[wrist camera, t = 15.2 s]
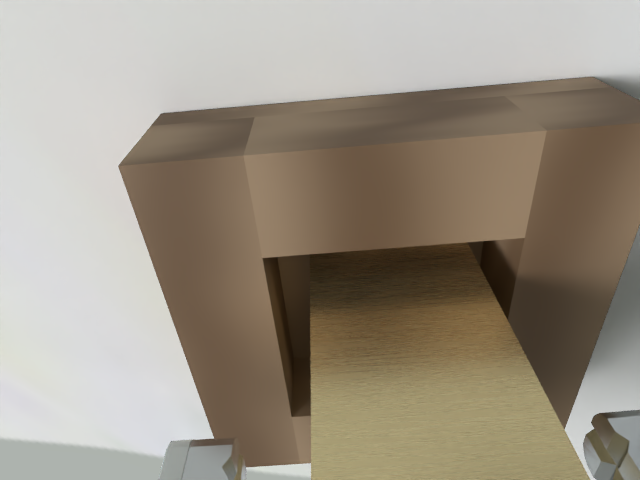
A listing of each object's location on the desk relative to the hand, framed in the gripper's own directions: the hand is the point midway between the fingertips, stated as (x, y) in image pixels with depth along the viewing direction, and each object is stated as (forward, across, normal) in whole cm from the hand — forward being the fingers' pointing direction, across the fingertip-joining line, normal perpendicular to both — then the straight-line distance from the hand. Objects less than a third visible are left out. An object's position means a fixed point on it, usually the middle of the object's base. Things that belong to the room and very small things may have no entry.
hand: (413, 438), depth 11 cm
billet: (+6, 0, 0) cm, 6 cm away
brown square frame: (+7, 0, 0) cm, 7 cm away
